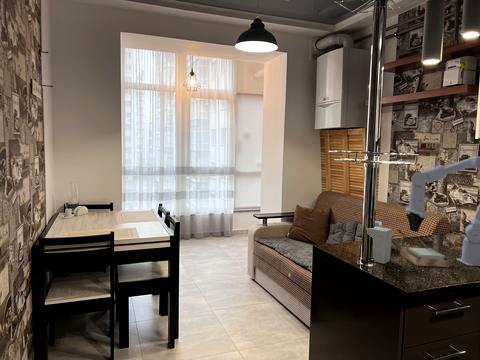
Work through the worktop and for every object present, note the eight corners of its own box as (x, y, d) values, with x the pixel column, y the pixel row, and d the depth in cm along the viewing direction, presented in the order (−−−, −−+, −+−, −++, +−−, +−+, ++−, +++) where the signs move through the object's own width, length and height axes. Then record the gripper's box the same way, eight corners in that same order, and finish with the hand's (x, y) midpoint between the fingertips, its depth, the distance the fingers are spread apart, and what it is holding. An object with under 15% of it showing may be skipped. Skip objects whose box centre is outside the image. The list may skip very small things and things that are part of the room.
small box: (390, 261, 144) (392, 229, 143) (383, 264, 140) (386, 231, 138) (370, 256, 150) (372, 225, 149) (363, 259, 145) (366, 227, 144)
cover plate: (430, 252, 151) (430, 248, 151) (444, 259, 141) (444, 255, 141) (408, 251, 151) (408, 247, 151) (420, 258, 141) (420, 254, 141)
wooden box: (430, 255, 154) (431, 247, 154) (449, 266, 140) (450, 258, 140) (400, 254, 154) (401, 246, 154) (416, 265, 140) (417, 256, 140)
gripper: (400, 197, 162) (397, 226, 163) (416, 202, 147) (413, 234, 149) (415, 197, 162) (412, 227, 163) (433, 202, 148) (429, 235, 149)
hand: (414, 230), depth 156 cm, fingers closed
